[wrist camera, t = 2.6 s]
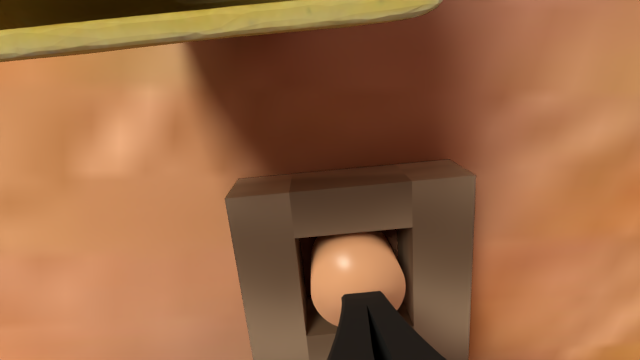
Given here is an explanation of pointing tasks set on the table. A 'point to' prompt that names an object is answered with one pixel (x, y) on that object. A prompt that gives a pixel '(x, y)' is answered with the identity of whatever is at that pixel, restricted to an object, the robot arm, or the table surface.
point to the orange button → (353, 270)
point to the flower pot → (175, 21)
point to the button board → (352, 217)
